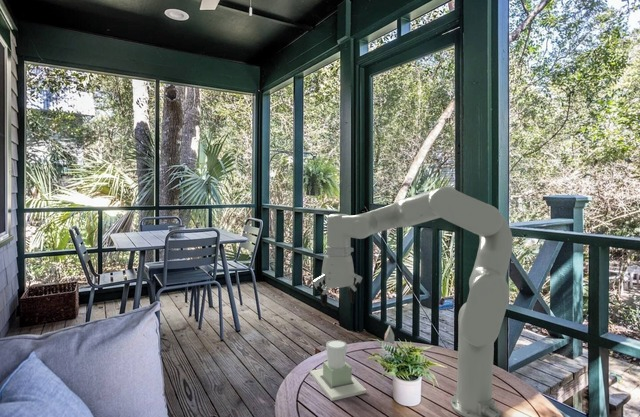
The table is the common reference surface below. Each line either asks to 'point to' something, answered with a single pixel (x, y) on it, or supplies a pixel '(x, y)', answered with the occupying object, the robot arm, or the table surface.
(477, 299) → the robot arm
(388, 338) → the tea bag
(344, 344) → the white cylinder
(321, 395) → the table surface
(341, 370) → the sage block
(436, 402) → the table surface
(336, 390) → the cream flat rectangular slab
